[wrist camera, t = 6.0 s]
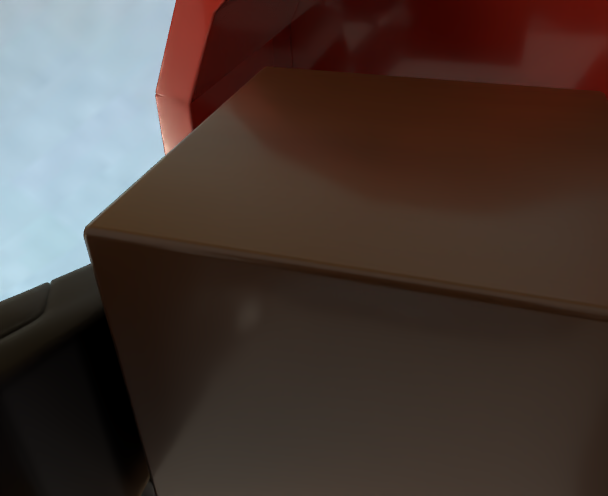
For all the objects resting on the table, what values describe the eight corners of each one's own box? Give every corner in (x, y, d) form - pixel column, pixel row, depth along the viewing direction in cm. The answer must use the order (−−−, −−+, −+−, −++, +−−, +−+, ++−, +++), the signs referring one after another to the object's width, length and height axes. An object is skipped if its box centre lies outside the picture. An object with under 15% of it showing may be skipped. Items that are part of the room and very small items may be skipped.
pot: (612, 253, 19) (656, 433, 13) (279, 206, 22) (194, 338, 16) (770, -187, 12) (995, -213, 7) (262, -173, 15) (107, -185, 9)
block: (531, 352, 11) (544, 644, 7) (276, 306, 12) (162, 532, 8) (606, 90, 8) (703, 327, 4) (263, 64, 9) (77, 229, 5)
